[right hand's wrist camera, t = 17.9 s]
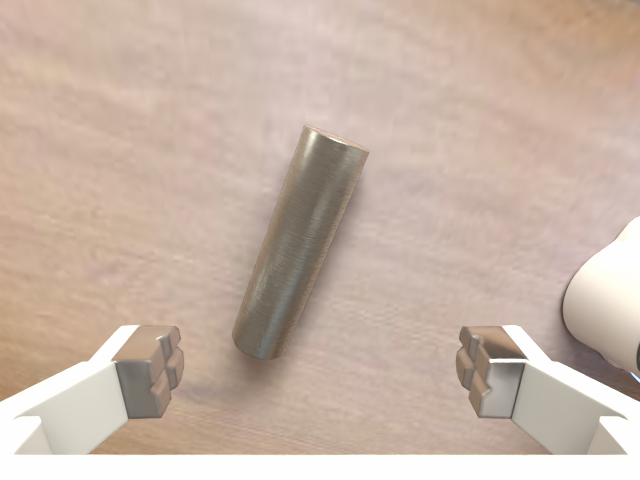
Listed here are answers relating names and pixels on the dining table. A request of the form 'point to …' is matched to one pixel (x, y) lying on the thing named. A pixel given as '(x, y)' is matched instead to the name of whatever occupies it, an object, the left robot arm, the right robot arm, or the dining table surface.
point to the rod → (297, 240)
